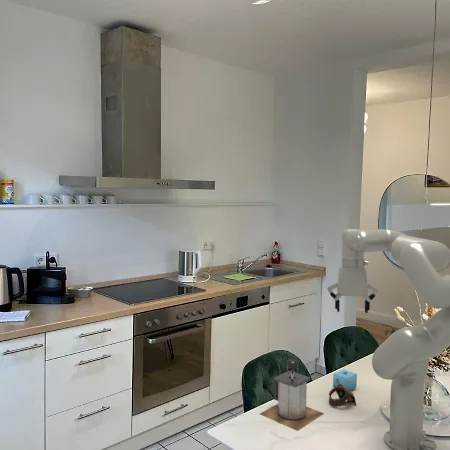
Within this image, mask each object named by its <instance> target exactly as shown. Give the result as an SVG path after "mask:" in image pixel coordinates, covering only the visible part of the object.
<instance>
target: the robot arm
mask: <svg viewBox="0 0 450 450" xmlns="http://www.w3.org/2000/svg"><path fill="white" fill-rule="evenodd" d="M341 234H342V235H341V236H342V237H341V266H339V268H338V273H337V282H336V283H334V284H331V285H329V286H327V291H328V293H329V295H330V296H331V297H332V298H333V300H334V309H335V310H336V311H337V313H340V298H342V296H344V297H360V298H361V297H363V298H364V299H365V300H364V312H365V314H368V313H369V311H370V307H371V305H370V304H371V301H372V300H373V299H374V298H376V295H377V294H378V292H379V289H378V288H376V287H375V286H372V285H370V284H369V283H368V275H367V274H368V273H367V268H366V267H365V266H369V260H366V259H365V253H374V252H375V253H376V252H388V253H390V254H391V256H392V259H393V260H395V261H396V262H398V263H400V265H401V267H402V269H403V271H404V273H405V274H406V276H407V278H408V279H409V281H410V282H411V284H412V286H413V287H414V289H415V290H416V292H417V293H418V296H419V297H420V298H421V299H422V301H423V302H424V303H425V304H426V305H427V306H429V307H431V308H433V309H437V310H438V311H437V312H434V314H433V315H432V316H431V317H430V318H429V319H427V320H426V321H425V322H423V323H421V324H416V325H412V326H406V327H403V328H399V329H397V330H396V331H394V332H393V333H392V334H391V335H389V336H388V337H387V338H386V339H385V340H384V341H383V342H382V343H381V344H380V345H379V346H378V347H377V348H376V349H375V350H374V352H373V354H372V357H371V364H372V365H371V366H372V369H373V371H374V373H375V374H376V375H377V376H378V377H379V378H381V379H384V380H389V381H391V382H390V383H391V384H390V398H389V399H390V404H389V429H388V431H386V432H384V435H383V440H384V443H385V444H386V445H387V446H388V447H389V448H390V449H392V450H428V449H430V450H437V449H438V448H437V447H438V445H437V443H436V440H435V439H432V438H430V437H428V436H426V435H427V432H426V430H424V429H423V428H424V403H425V385H426V378H427V373H428V370H429V364H430V362H429V359H432V358H435V357H437V356H439V355H440V354H442V353H443V352H444V351H445V350H447V349H448V347H450V274H447V275H440V273H439V272H438V271H440V270H443V269H445V268H447V266H448V265H449V264H450V249H449V248H450V247H448V246H447V245H445V244H444V243H442V242H440V241H436V240H431V239H427V238H421V237H416V236H412V235H408V234H406V233H403V232H401V231H396V230H390V229H384V228H383V229H381V228H380V229H360V228H345V229H343V230H342V233H341ZM334 289H337V293H334V292H333V290H334ZM368 290H371V291H372V292H371V294H370V295H368V292H369V291H368Z"/></svg>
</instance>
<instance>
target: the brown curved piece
mask: <svg viewBox="0 0 450 450" xmlns="http://www.w3.org/2000/svg"><path fill="white" fill-rule="evenodd" d="M335 392H336V394H337V395H338V396H337V397H338V399H334V398H332V395H333V394H334V393H335ZM328 395H329V398H328V404H329V405H330V407H331V406H332V407H334V408H338V407H339V408H340V407H342V406H343V407H348V405H347V403H350V404H353V405H354V406H356V407H357V401H356V398H355V395H354V393H353V392H352V390H350V391H349V390H348V389H346V388H345V387H343V386H342V385H341V384H339V385H338V386H337V387H333V388H332V389H331V390H330V391H329V392H328Z"/></svg>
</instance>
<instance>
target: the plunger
mask: <svg viewBox="0 0 450 450" xmlns="http://www.w3.org/2000/svg"><path fill="white" fill-rule="evenodd" d="M286 368H287V369H286V370H287V371H291V379H293V377H294V372H295V373H296V372H297V371H298V370H299V369H298V368H299V361H298V359H295V358H294V359H293V358H292V359H291V358H290V359H287V360H286Z"/></svg>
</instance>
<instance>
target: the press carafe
mask: <svg viewBox="0 0 450 450" xmlns="http://www.w3.org/2000/svg"><path fill="white" fill-rule="evenodd" d="M309 381H311V377H309V376H306V375H304V374H301V373H298V372H296V371H295V372H294V377H293V379H291V371H288V370H287V371H285V372H284V373H281V374H279V375H276V376H274V377H273V400H274V401H277V404H278V415H279V416H280V417H281V418H283V419H285V420H290V421H298V420H302V419H304V418H305V417H306V407H307V392H308V391H307V382H309Z"/></svg>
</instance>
